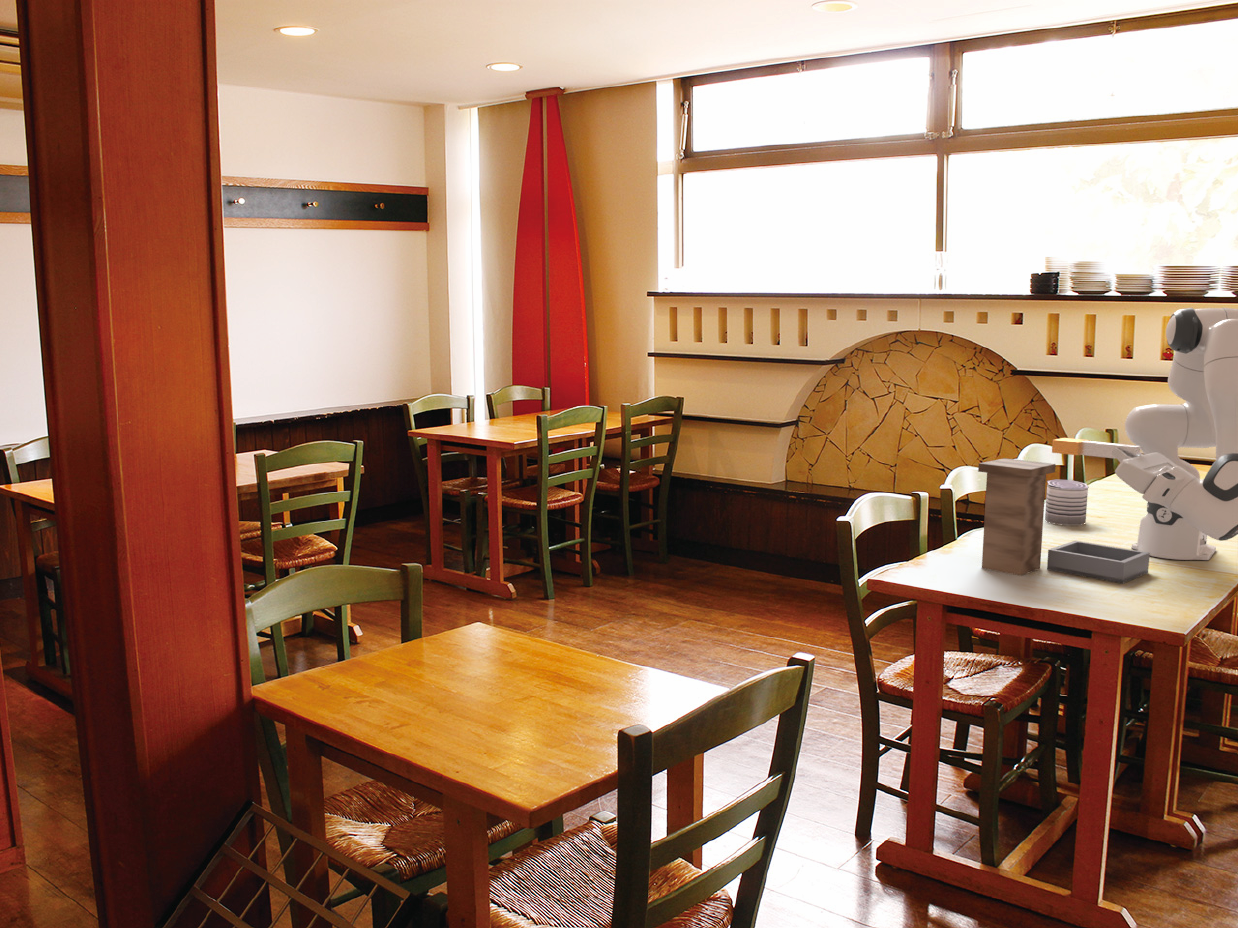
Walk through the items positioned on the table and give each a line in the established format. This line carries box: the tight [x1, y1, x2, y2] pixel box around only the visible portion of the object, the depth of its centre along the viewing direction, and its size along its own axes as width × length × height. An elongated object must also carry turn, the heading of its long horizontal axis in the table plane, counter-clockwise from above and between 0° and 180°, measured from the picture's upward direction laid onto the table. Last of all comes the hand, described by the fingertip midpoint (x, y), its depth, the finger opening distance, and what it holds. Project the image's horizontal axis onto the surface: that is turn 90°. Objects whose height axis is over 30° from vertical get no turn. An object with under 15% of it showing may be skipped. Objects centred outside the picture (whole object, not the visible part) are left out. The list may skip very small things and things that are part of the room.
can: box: [1044, 478, 1089, 526], centre depth 315 cm, size 11×11×12 cm
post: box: [977, 458, 1057, 577], centre depth 257 cm, size 13×13×26 cm
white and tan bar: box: [1051, 437, 1141, 460], centre depth 242 cm, size 18×6×3 cm, turn 43°
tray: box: [1046, 540, 1150, 584], centre depth 256 cm, size 15×18×5 cm
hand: (1117, 449), depth 239 cm, fingers closed on white and tan bar, 3 cm apart
